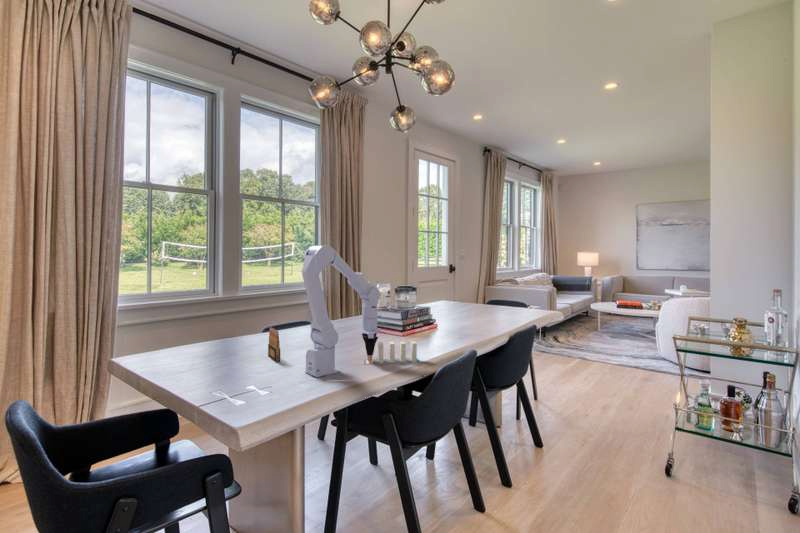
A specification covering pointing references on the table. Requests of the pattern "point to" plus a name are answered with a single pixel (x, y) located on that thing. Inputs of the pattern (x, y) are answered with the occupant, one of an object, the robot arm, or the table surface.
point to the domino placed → (369, 357)
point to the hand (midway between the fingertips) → (369, 353)
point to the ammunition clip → (274, 345)
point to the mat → (386, 361)
